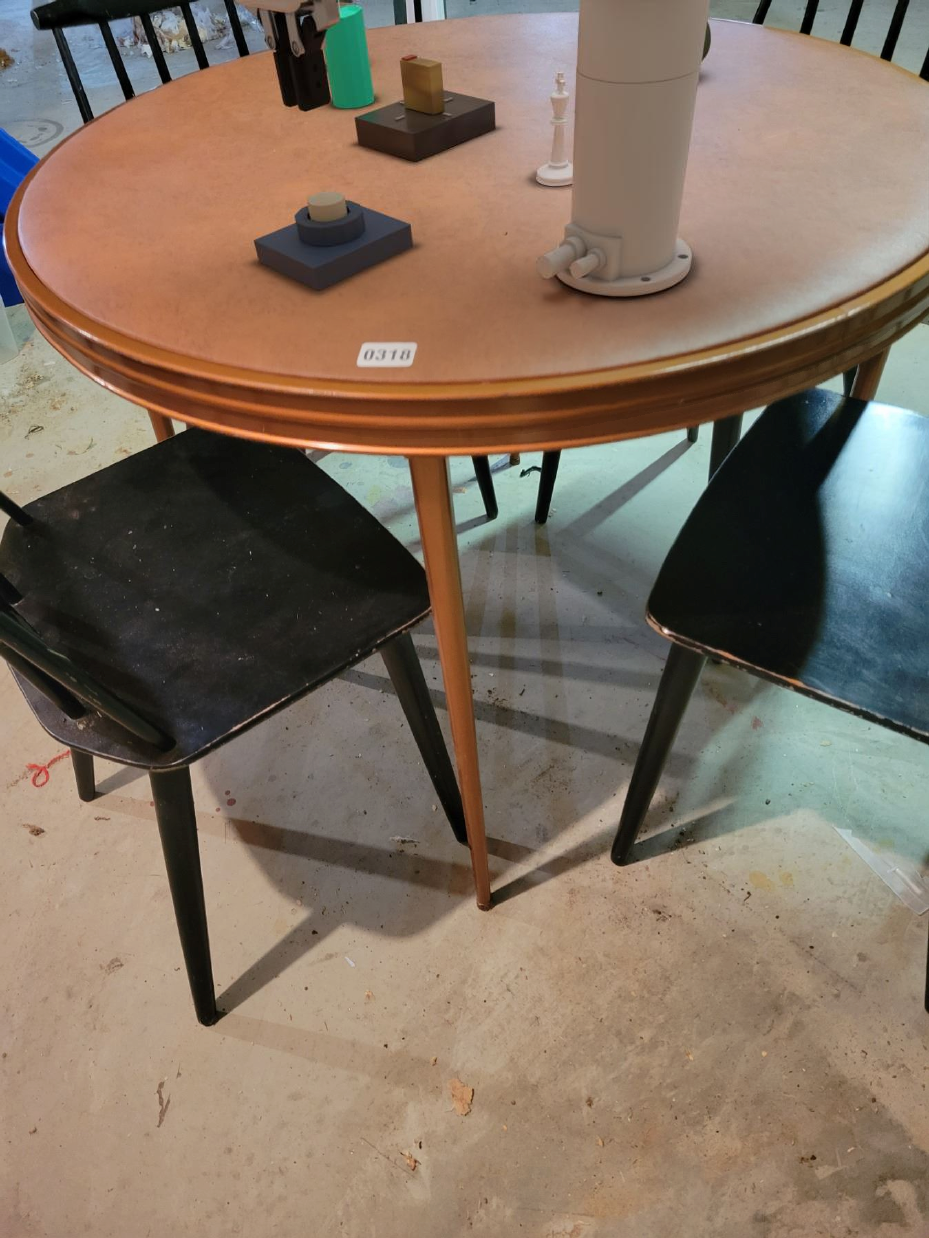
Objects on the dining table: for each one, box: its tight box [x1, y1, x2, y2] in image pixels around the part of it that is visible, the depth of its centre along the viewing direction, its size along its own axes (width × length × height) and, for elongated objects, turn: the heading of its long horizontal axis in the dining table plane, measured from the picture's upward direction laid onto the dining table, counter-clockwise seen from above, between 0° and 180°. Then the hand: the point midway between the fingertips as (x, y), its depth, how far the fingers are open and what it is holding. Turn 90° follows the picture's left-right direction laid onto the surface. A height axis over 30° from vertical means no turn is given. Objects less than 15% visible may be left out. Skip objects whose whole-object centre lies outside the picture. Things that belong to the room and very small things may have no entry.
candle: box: [323, 0, 375, 109], centre depth 106 cm, size 6×6×12 cm
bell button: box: [306, 190, 348, 222], centre depth 74 cm, size 4×4×2 cm
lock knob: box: [399, 53, 445, 115], centre depth 95 cm, size 5×2×5 cm, turn 44°
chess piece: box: [535, 71, 573, 187], centre depth 83 cm, size 5×5×10 cm
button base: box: [253, 199, 414, 292], centre depth 76 cm, size 12×10×4 cm
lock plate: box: [354, 89, 496, 163], centre depth 98 cm, size 14×11×3 cm
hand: (307, 103), depth 68 cm, fingers closed
